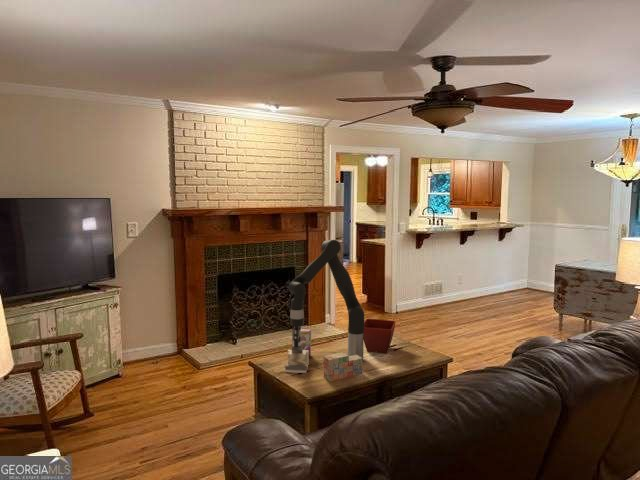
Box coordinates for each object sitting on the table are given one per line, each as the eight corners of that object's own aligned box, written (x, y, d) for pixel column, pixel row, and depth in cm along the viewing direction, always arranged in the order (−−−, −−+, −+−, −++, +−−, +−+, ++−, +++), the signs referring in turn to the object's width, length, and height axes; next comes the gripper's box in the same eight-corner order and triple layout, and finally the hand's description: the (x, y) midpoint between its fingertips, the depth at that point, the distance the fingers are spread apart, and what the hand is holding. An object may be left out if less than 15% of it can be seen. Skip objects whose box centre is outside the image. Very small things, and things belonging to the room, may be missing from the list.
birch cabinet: (306, 364, 268) (306, 344, 266) (305, 368, 263) (305, 347, 261) (289, 364, 268) (289, 344, 267) (287, 367, 264) (287, 347, 262)
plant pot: (360, 352, 290) (360, 326, 288) (366, 342, 308) (366, 318, 306) (390, 356, 284) (391, 329, 282) (395, 345, 302) (395, 320, 300)
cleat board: (308, 364, 270) (308, 349, 269) (306, 372, 259) (306, 357, 258) (288, 363, 272) (288, 349, 271) (284, 372, 260) (284, 356, 259)
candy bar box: (292, 357, 282) (291, 331, 280) (293, 354, 287) (293, 328, 285) (310, 358, 281) (310, 331, 279) (311, 355, 286) (311, 329, 284)
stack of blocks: (356, 370, 263) (357, 349, 261) (362, 374, 257) (362, 352, 256) (323, 377, 253) (323, 355, 252) (328, 381, 248) (328, 359, 246)
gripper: (302, 320, 254) (302, 349, 256) (305, 313, 269) (305, 340, 270) (288, 320, 255) (288, 348, 257) (292, 313, 269) (292, 340, 271)
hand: (297, 344), depth 264 cm, fingers open, 8 cm apart
